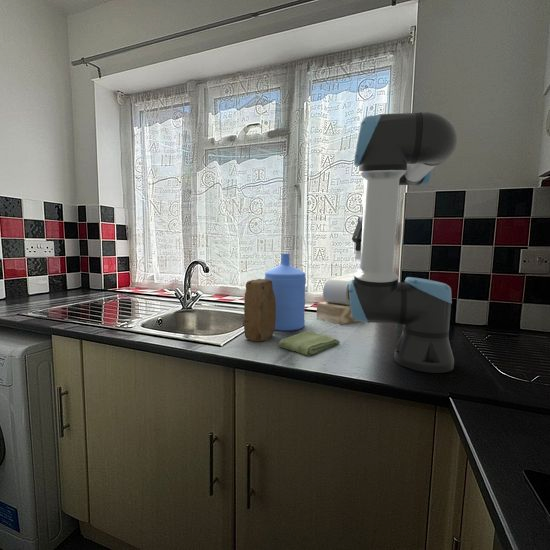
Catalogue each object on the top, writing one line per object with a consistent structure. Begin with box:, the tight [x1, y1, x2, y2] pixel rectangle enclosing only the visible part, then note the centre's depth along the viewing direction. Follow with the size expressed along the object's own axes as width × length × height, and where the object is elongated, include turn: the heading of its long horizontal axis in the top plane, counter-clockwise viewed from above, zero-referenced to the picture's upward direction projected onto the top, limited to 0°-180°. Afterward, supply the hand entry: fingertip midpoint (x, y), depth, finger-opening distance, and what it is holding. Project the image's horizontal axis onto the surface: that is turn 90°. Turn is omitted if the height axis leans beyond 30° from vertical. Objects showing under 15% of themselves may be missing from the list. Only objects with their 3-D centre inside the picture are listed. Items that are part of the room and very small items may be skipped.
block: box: [243, 278, 276, 342], centre depth 112 cm, size 11×8×20 cm
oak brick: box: [316, 301, 357, 325], centre depth 142 cm, size 13×13×7 cm
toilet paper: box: [322, 278, 350, 305], centre depth 141 cm, size 10×10×10 cm
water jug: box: [264, 253, 307, 332], centre depth 128 cm, size 16×16×28 cm
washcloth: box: [278, 330, 340, 357], centre depth 106 cm, size 13×18×3 cm
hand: (369, 259), depth 134 cm, fingers open, 13 cm apart
